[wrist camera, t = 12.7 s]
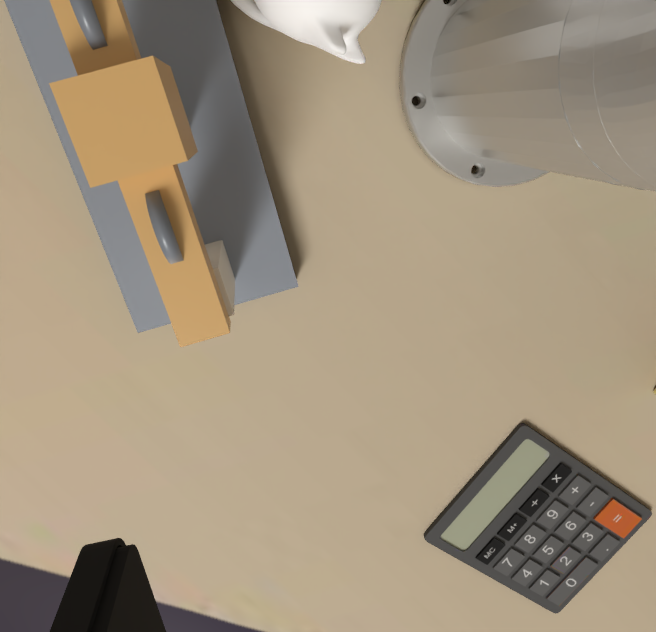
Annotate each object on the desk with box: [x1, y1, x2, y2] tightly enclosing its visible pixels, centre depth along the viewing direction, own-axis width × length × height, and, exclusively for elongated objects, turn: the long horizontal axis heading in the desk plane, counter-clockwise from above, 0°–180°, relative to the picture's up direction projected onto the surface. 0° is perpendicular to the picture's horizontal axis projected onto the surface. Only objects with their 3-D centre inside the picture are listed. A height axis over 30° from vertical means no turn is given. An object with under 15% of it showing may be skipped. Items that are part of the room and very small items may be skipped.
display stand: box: [4, 0, 298, 333], centre depth 30 cm, size 10×23×8 cm, turn 14°
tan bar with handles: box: [49, 0, 231, 347], centre depth 26 cm, size 4×20×6 cm, turn 14°
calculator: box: [424, 423, 652, 613], centre depth 47 cm, size 12×1×15 cm
